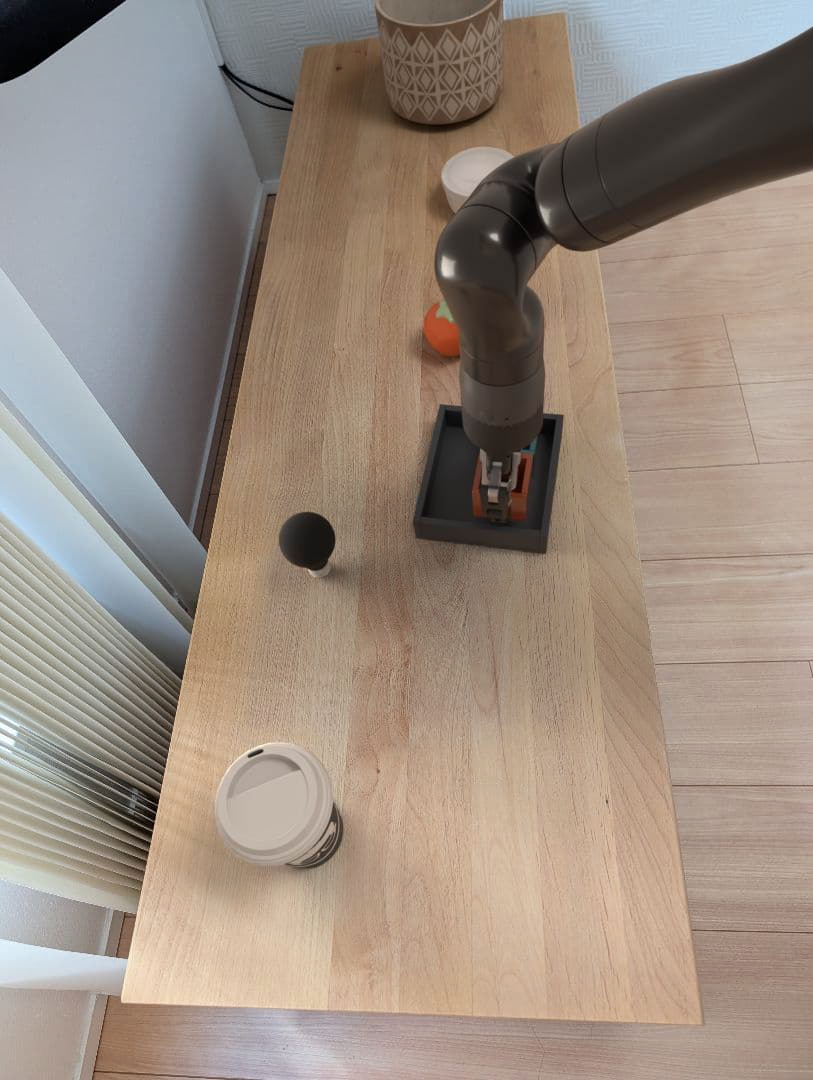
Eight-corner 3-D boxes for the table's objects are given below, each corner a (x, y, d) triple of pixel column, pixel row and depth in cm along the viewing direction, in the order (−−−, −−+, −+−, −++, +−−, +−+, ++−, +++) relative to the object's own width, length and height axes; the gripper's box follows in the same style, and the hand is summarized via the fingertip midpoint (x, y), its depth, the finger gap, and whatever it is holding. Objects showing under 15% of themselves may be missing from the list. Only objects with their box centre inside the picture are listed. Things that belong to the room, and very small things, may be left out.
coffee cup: (362, 779, 75) (332, 734, 62) (356, 887, 70) (322, 863, 57) (265, 779, 76) (216, 735, 63) (253, 886, 71) (197, 861, 58)
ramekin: (449, 233, 113) (447, 201, 109) (438, 186, 119) (435, 154, 115) (525, 219, 113) (526, 187, 108) (510, 172, 119) (510, 140, 114)
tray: (562, 433, 93) (563, 414, 90) (546, 554, 85) (547, 537, 82) (442, 423, 96) (439, 403, 93) (415, 538, 88) (412, 521, 85)
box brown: (532, 478, 86) (533, 454, 82) (525, 521, 83) (526, 498, 79) (481, 473, 87) (480, 449, 83) (473, 516, 84) (471, 492, 80)
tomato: (478, 322, 104) (476, 274, 97) (485, 363, 100) (484, 316, 93) (423, 329, 104) (417, 282, 97) (428, 371, 100) (422, 325, 94)
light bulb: (337, 599, 85) (318, 555, 77) (288, 589, 86) (263, 544, 78) (353, 554, 88) (337, 506, 79) (305, 544, 89) (284, 496, 81)
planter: (365, 112, 131) (347, 5, 117) (437, 55, 137) (428, -52, 123) (455, 148, 123) (448, 38, 109) (526, 86, 130) (529, -25, 116)
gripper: (534, 459, 66) (530, 556, 80) (553, 335, 73) (546, 445, 87) (447, 450, 67) (458, 547, 82) (473, 330, 74) (479, 439, 89)
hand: (503, 494), depth 84 cm, fingers closed on box brown, 5 cm apart
